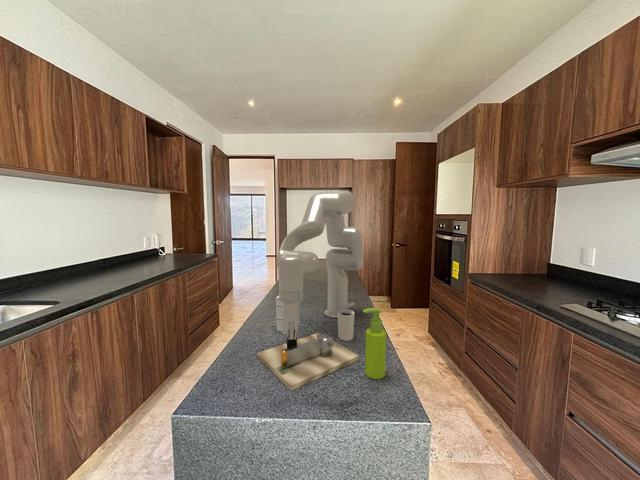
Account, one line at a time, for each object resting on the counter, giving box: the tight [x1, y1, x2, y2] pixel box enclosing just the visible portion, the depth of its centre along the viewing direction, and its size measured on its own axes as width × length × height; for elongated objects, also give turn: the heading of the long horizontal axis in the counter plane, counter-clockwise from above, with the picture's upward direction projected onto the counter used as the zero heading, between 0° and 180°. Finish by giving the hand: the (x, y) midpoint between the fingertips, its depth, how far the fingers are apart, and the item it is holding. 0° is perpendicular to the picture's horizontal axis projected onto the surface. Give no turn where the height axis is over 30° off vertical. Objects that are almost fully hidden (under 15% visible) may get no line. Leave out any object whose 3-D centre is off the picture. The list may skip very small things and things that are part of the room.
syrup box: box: [275, 295, 282, 332], centre depth 113 cm, size 6×6×14 cm
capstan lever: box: [281, 332, 335, 366], centre depth 87 cm, size 18×8×5 cm, turn 124°
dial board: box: [256, 332, 360, 392], centre depth 90 cm, size 26×22×2 cm
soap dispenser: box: [362, 307, 387, 380], centre depth 81 cm, size 6×7×20 cm
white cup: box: [337, 309, 355, 342], centre depth 106 cm, size 7×7×10 cm
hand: (292, 350), depth 87 cm, fingers closed
